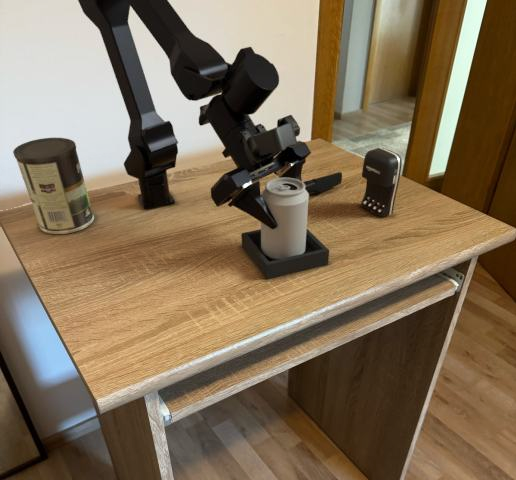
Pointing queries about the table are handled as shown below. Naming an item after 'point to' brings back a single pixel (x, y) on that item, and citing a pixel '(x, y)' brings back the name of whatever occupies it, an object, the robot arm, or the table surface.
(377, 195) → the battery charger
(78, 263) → the table surface
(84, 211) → the coffee can
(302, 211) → the can
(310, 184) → the electric trimmer
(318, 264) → the black square open tray
